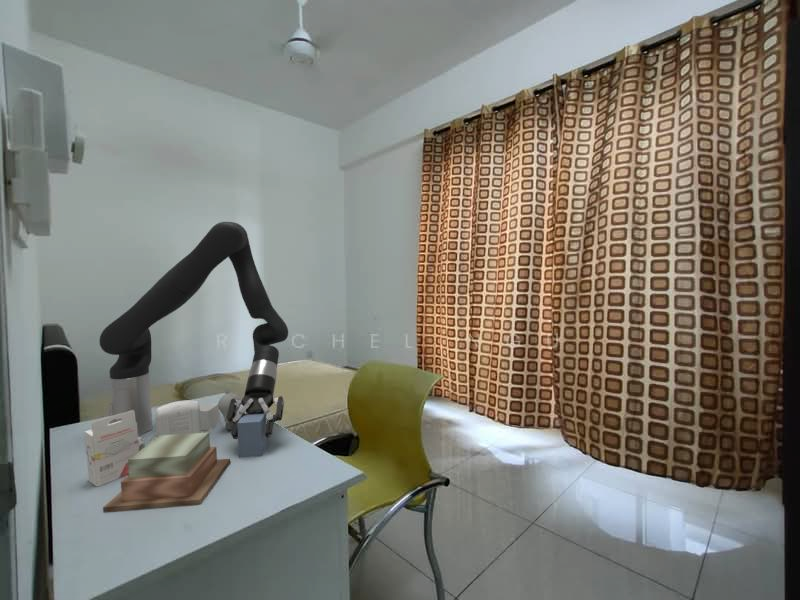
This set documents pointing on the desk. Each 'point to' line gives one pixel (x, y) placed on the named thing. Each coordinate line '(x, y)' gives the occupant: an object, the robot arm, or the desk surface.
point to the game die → (141, 442)
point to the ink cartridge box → (111, 447)
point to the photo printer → (178, 418)
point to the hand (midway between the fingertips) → (251, 437)
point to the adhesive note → (209, 416)
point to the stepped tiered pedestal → (170, 473)
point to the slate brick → (252, 435)
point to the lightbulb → (227, 407)
